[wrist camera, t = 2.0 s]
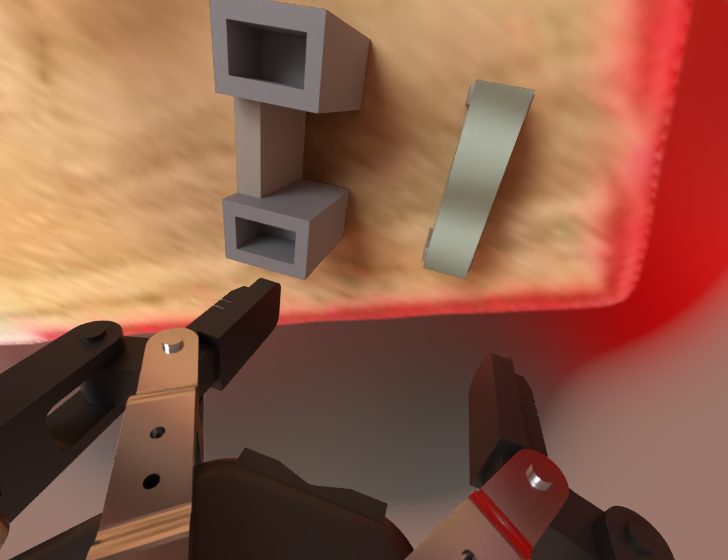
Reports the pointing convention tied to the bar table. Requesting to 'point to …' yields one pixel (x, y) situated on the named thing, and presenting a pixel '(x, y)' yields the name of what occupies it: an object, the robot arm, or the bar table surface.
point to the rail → (475, 174)
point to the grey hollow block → (283, 126)
